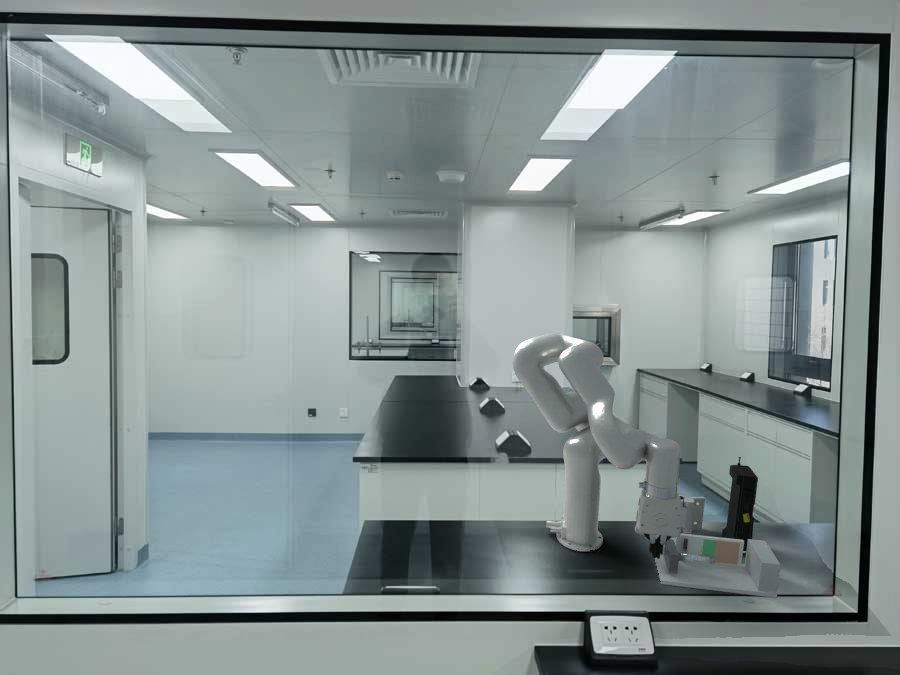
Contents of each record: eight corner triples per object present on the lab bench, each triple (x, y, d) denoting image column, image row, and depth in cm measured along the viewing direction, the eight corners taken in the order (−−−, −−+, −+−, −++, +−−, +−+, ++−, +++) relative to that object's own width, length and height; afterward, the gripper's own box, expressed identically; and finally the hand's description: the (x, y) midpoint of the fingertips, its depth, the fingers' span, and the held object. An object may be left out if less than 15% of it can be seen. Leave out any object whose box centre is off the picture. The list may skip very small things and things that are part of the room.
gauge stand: (661, 584, 135) (664, 553, 133) (653, 557, 146) (656, 528, 144) (776, 597, 130) (781, 565, 129) (760, 569, 141) (764, 539, 139)
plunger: (668, 572, 136) (670, 552, 135) (663, 555, 143) (665, 536, 142) (716, 578, 134) (718, 558, 133) (708, 560, 141) (710, 541, 140)
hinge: (701, 528, 160) (705, 496, 158) (702, 538, 155) (706, 505, 153) (650, 518, 165) (653, 488, 163) (650, 528, 160) (652, 496, 158)
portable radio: (753, 557, 146) (765, 470, 141) (728, 555, 147) (739, 468, 142) (744, 541, 153) (755, 457, 148) (720, 538, 155) (730, 455, 149)
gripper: (630, 493, 134) (626, 560, 137) (696, 498, 131) (690, 567, 135) (627, 479, 141) (623, 544, 145) (689, 484, 138) (683, 550, 142)
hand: (655, 555), depth 140 cm, fingers closed
